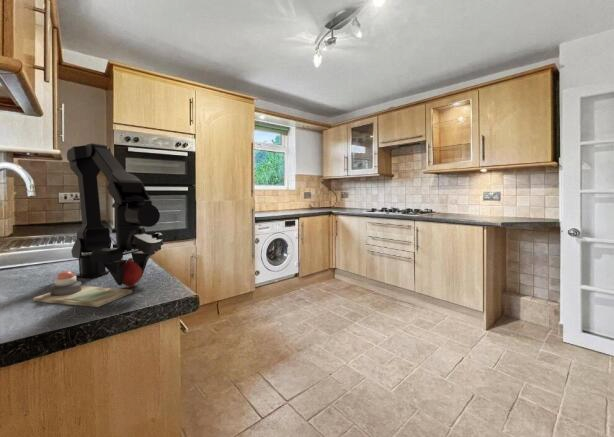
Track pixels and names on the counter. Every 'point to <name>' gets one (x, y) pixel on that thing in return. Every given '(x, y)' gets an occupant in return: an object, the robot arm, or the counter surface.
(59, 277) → the button
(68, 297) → the board
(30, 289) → the counter surface
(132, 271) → the onion
